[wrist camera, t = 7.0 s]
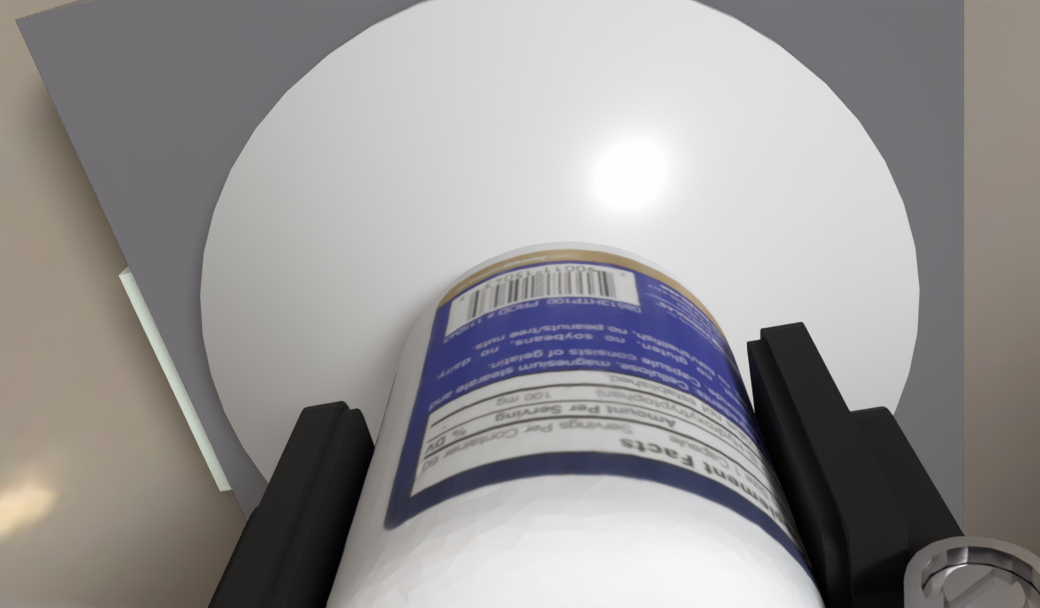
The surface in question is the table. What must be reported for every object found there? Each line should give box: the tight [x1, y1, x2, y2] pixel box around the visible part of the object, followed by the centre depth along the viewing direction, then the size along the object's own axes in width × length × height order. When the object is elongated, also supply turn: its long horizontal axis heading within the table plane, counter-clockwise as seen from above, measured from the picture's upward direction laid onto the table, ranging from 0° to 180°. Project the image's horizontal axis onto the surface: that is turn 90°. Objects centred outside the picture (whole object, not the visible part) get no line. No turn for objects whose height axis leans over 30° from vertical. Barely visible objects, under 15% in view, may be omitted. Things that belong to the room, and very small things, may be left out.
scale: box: [15, 0, 964, 532], centre depth 16 cm, size 14×14×3 cm
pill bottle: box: [326, 242, 827, 608], centre depth 10 cm, size 5×5×9 cm
